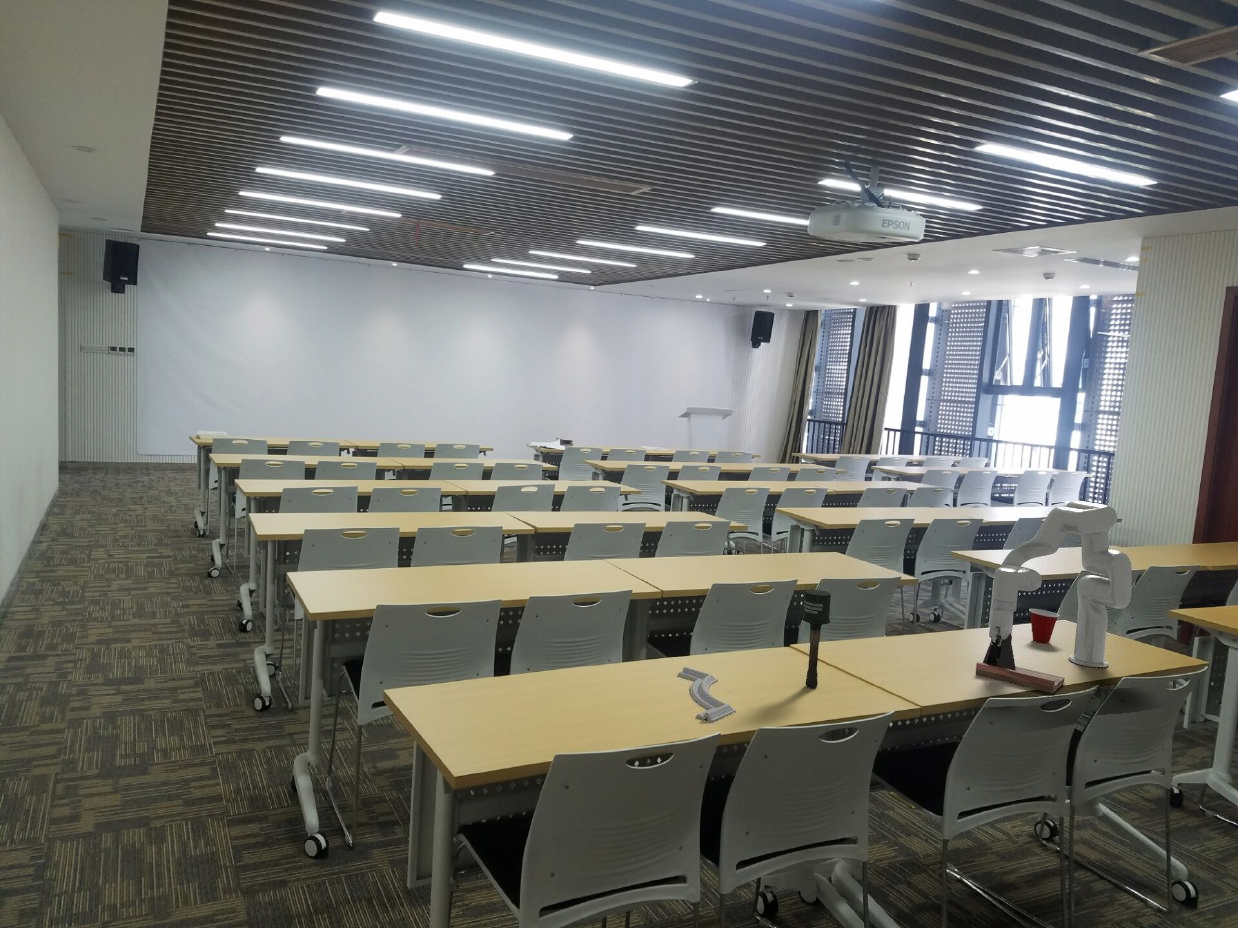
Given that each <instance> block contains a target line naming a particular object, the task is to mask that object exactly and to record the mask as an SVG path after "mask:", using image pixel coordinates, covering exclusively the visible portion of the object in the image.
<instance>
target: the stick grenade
mask: <svg viewBox="0 0 1238 928" xmlns="http://www.w3.org/2000/svg"><path fill="white" fill-rule="evenodd" d="M831 598H832V595H831V592H829V591H827V590H821V589H807V590H805V592H804V601H803V602H804V605H803V616H801V621H803V622H806V623H808V624H810V626H809V653H808V665H807V666H808V667H807V671H806V679H805V687H807V688H808V687H810V688H809V689H816V688H817V687H818V683H819V682H818V661H819V646H820V641H821V630H822V625H828V624H831V619H830V614H831ZM815 687H816V688H815Z"/></svg>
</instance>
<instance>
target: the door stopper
mask: <svg viewBox="0 0 1238 928" xmlns="http://www.w3.org/2000/svg"><path fill="white" fill-rule="evenodd" d="M997 637H998V636H997ZM991 639H992V638H990V640H991ZM1012 640H1013V636H1012V634H1011V633H1010V634H1009V636H1008V638H1006V639H1005V640H1002V642H1001V645H1000V647H1001V656H1000V658H994V657H991V656H990V650H991V641H989V642H990V643H989V645H988V648H987V649H986V653H985V654H984V655H985V656H984V659H983V661H982V663H984V664H989V665H993V666H997V667H1002V668H1006V669H1010V670H1014V671H1016V668H1015V666H1016V664H1015V663H1016V662H1015V656H1014V650H1013V645H1012V643H1013V642H1012ZM998 642H999V640H998Z"/></svg>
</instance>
